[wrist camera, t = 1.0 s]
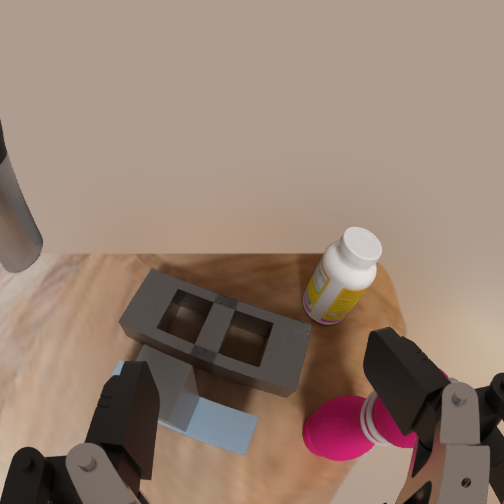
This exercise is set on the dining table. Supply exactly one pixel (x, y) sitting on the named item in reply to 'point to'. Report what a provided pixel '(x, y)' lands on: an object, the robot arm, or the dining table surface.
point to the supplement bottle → (342, 276)
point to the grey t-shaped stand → (194, 405)
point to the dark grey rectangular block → (217, 333)
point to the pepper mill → (353, 427)
